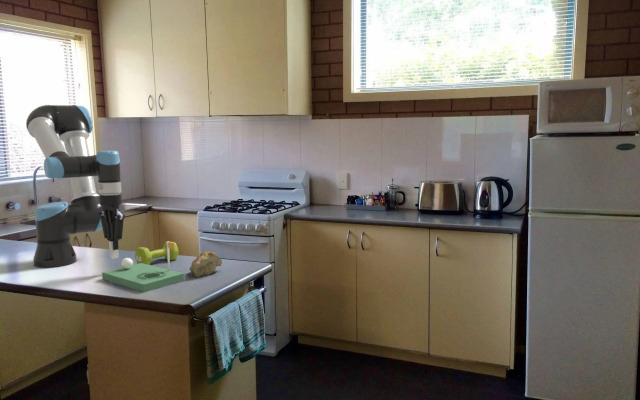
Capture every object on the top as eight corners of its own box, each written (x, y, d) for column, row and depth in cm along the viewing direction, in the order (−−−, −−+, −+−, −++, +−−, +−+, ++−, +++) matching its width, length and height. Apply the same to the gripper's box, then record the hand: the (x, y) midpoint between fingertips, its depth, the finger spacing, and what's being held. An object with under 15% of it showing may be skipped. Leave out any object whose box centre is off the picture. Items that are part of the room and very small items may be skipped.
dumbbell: (144, 268, 205) (143, 250, 204) (133, 265, 210) (132, 247, 209) (181, 260, 217) (180, 242, 216) (169, 257, 222) (168, 239, 221)
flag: (167, 277, 192) (166, 241, 191) (169, 277, 193) (168, 241, 191) (174, 279, 190) (172, 242, 188) (176, 278, 191) (174, 242, 189)
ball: (119, 269, 194) (118, 258, 194) (129, 266, 197) (128, 256, 197) (125, 271, 192) (125, 259, 191) (135, 268, 195) (135, 257, 194)
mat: (102, 279, 190) (102, 272, 190) (141, 269, 203) (141, 262, 203) (144, 292, 176) (143, 284, 176) (183, 280, 189) (183, 273, 189)
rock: (201, 289, 195) (194, 268, 190) (186, 280, 200) (178, 260, 194) (225, 269, 202) (218, 249, 196) (209, 261, 207) (203, 241, 201)
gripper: (90, 193, 197) (94, 257, 200) (111, 196, 189) (115, 262, 192) (109, 191, 203) (113, 253, 206) (130, 193, 195) (134, 258, 198)
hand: (114, 258), depth 199 cm, fingers closed
